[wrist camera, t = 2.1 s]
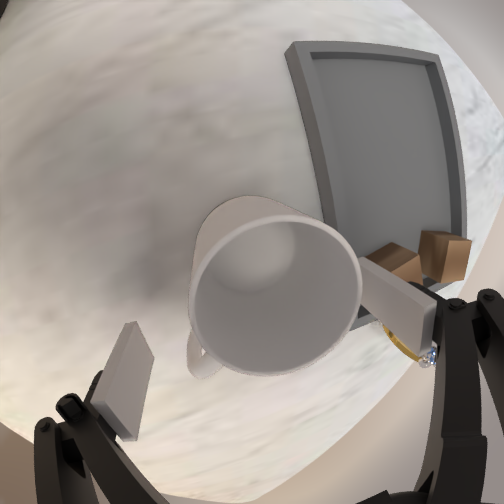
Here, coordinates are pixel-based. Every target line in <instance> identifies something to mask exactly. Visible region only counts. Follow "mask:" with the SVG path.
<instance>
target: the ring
mask: <svg viewBox="0 0 504 504" xmlns="http://www.w3.org/2000/svg"><path fill="white" fill-rule="evenodd" d="M383 328H384V331H385V332H386V334H387V336H388V337H389V338H390V340H391V341H392V342H393V343H394V344H395V345H396V347H397V348H398V349H400V350H401V351H402V352H403V353H404V354H405V355H407V356H408V357H410V358H411V359H413V360H415V361H417V362H419V365H420V366H421V367H422V368H427V367H429V366H431V365H433V366H435V365H436V363H435V362H434V358H435V353H436V348H437V344H436V343H435V342H434V341H432V345H431V351H429V352H427V353H426V354H424V355H422V356H421V357H418V356H417V355H415V354H414V353H413V352H412V351H411V350H410V349H409V348H408V347H407V346H406V345H405V344H404V343H403V342H402V341H401V340H400V339H398V338H397V337H396V336H395V335H394V334H393V333H392V332H391V331H390V330H389V329H388V328H387V327H385V326H384V325H383ZM423 358H425V359H426V360H424V359H423Z"/></svg>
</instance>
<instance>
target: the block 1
mask: <svg viewBox="0 0 504 504" xmlns="http://www.w3.org/2000/svg"><path fill="white" fill-rule="evenodd" d="M365 258H367V259H368V260H370V261H372V262H374V263H375V264H377V265H379V266H380V267H382V268H384V269H385V270H387V271H389V272H391V273H392V274H394V275H396V276H397V277H399V278H401V279H402V280H404V281H405V282H409V281H412V282H416V283H419V284H421V285H423V280H422V271H421V263H420V256H419V254H417V253H415V252H413V251H411V250H408V249H406V248H404V247H402V246H400V245H397V244H395V243H393V242H391V243H389V244H387V245H385V246H383V247H382V248H380V249H378V250H376V251H375V252H373V253H371V254H369V255H367V256H365Z"/></svg>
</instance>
